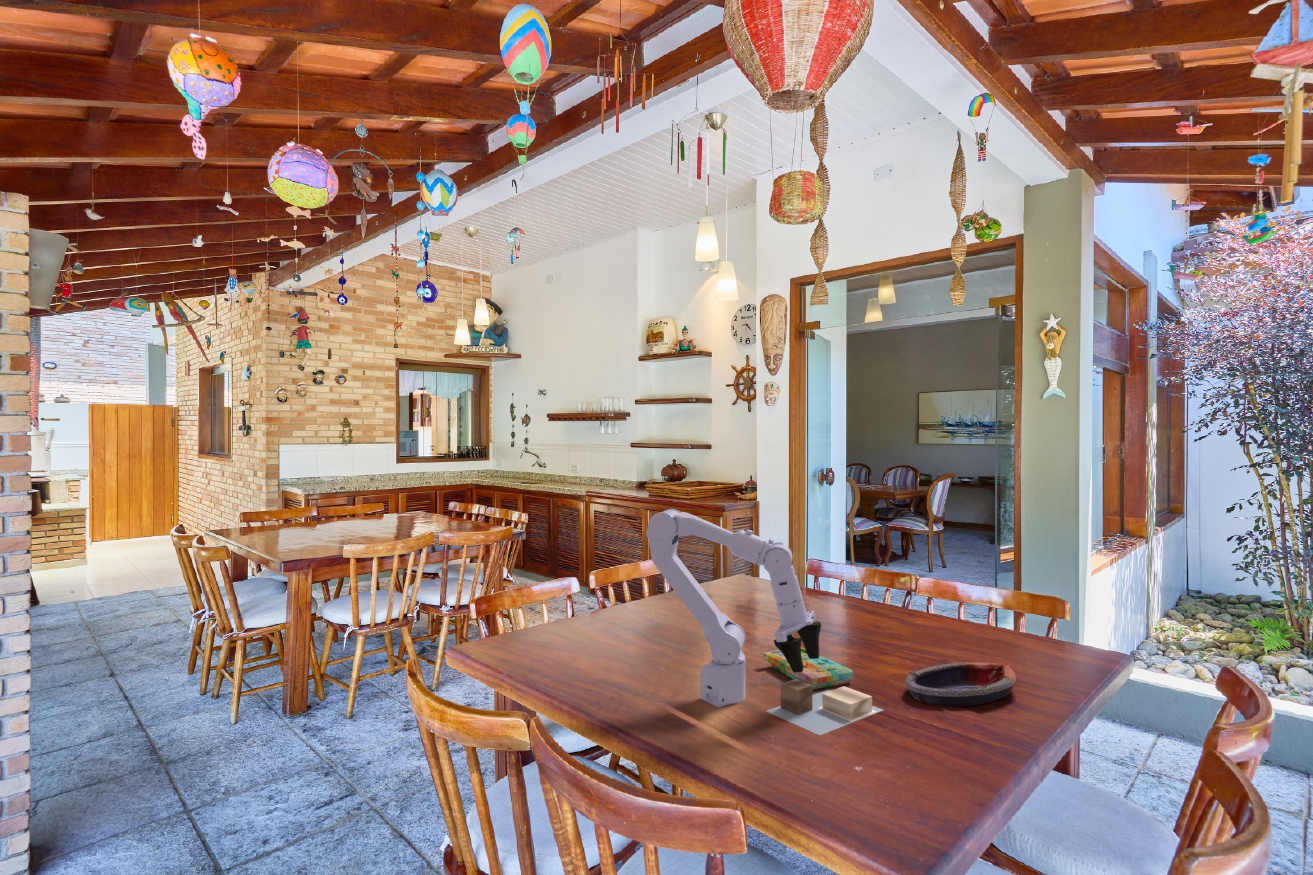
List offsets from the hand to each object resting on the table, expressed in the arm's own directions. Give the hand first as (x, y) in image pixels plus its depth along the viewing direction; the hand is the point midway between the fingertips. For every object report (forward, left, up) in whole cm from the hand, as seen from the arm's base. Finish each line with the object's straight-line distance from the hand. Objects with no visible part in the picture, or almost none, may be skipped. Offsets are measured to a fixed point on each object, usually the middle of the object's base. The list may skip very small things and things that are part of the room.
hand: (806, 664), depth 137 cm
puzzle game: (+15, +13, -10) cm, 22 cm away
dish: (+35, -15, -10) cm, 39 cm away
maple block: (+5, -7, -8) cm, 12 cm away
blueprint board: (+1, -4, -9) cm, 10 cm away
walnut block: (-3, 0, -8) cm, 9 cm away
